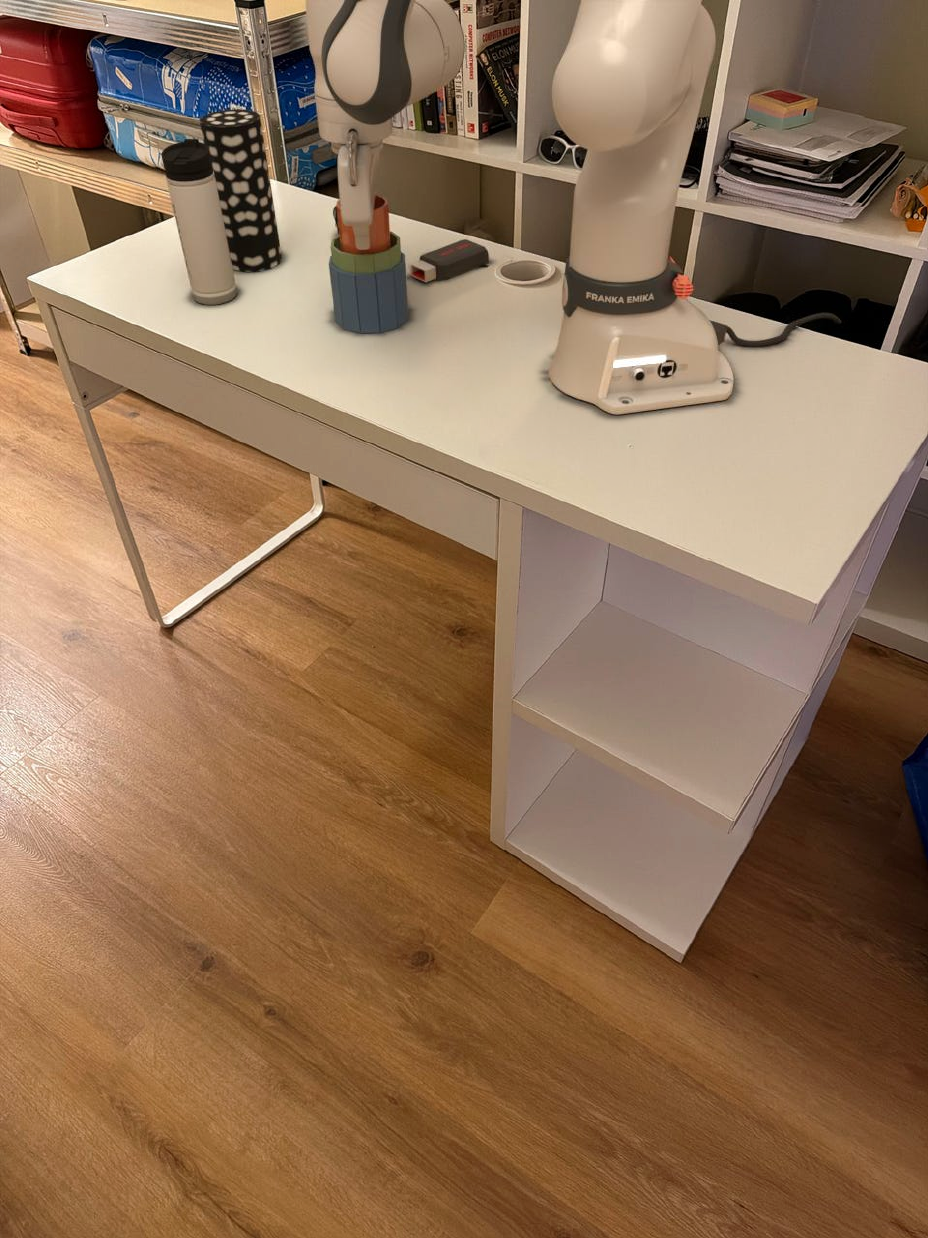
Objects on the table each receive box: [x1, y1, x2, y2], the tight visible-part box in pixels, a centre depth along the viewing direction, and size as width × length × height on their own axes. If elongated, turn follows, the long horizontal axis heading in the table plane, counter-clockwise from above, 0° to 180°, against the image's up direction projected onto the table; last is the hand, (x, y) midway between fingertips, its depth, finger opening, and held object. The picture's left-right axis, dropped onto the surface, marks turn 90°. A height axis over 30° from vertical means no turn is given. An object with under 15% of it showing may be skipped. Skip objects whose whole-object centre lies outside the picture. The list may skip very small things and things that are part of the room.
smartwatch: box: [332, 205, 339, 235], centre depth 145 cm, size 4×5×5 cm
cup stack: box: [328, 230, 409, 334], centre depth 122 cm, size 10×10×10 cm
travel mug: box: [160, 138, 238, 306], centre depth 124 cm, size 6×7×20 cm
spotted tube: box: [199, 108, 283, 273], centre depth 133 cm, size 8×8×20 cm
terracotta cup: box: [335, 194, 391, 255], centre depth 119 cm, size 6×6×10 cm
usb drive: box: [410, 238, 490, 283], centre depth 136 cm, size 5×12×3 cm, turn 133°
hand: (365, 235), depth 118 cm, fingers closed on terracotta cup, 6 cm apart
